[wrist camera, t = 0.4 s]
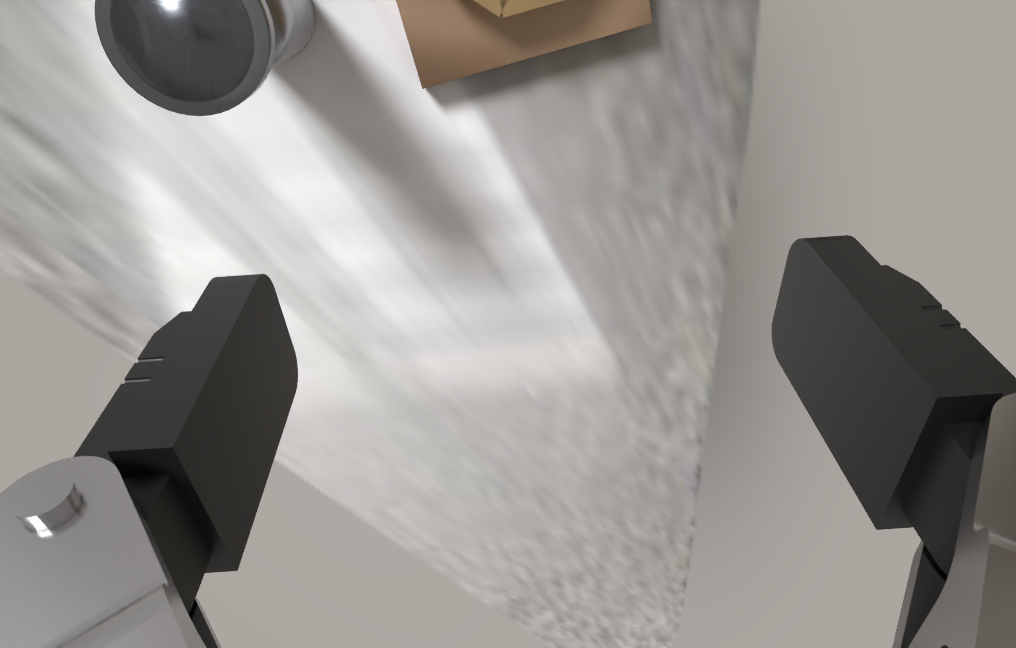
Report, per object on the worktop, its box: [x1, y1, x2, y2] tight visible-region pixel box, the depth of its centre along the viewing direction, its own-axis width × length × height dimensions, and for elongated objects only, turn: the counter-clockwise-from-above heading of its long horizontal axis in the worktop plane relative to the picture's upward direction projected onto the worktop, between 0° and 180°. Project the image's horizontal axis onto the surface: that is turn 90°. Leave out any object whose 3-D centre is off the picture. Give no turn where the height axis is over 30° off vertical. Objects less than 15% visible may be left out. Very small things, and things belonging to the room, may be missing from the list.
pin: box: [95, 0, 315, 116], centre depth 26 cm, size 5×5×14 cm
